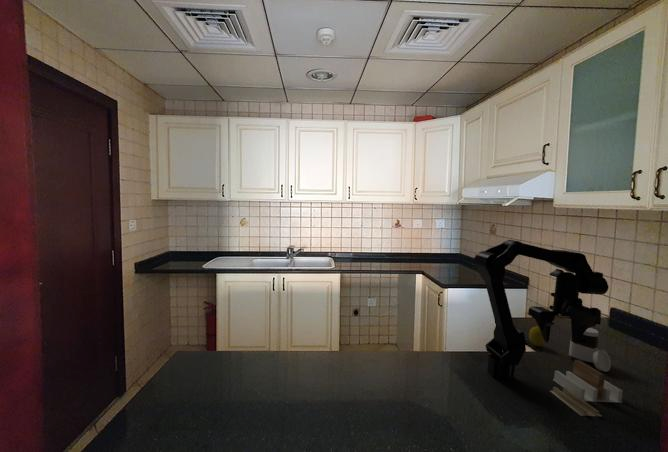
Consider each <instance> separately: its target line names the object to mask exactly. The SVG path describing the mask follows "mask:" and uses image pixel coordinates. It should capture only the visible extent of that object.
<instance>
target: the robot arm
mask: <svg viewBox="0 0 668 452" xmlns="http://www.w3.org/2000/svg"><path fill="white" fill-rule="evenodd" d="M517 256H523V257H528V258H531V259H536V260H539V261H543V262H544V261H545V262H546V263H548V264H550V265H552V266H553V267H555V268H556V269H555V270H553V271H551V272H550V273H549V276H550V277H555V284H554V285H555V286H554V292H550V297H553V304H552V305H551V304H550V305H549V309H548V308H545V307H543V306H535V305H534V306H533V305H532V306H530V307H529V308H528V313H527V315H529V316H531V318H532V319H534V320H535V322H536V324H537V326H539V328H540V331H541V334H542V336H543V339H544V341H545V343H548V342H549V341H550V335H551V328H552V326H554V325H555V322H553V321H554V320H555V319H556V318H557V319H570V327H571V334H572V340H573V343H575V344H577V343H578V341H579V340H580V338H581V337H582V335H583V334H584V332H585V331H586V330H587V329H588V328H594V327H596V326H597V325H600V326H601V320H602V310H601V309H599V308H598V307H590V308H589V307H587V306H584V305H583V299H582V298H580V297H579V296H580V294H583V295H584V294H587V295H597V296H599V295H601V296H602V295H605V294H606V293H608V290H609V284H608V281H607V280H606V278H605V277H604V273H603V272H599V271H593V269H592V267H591V266H590V264H589V262H588V260H587V257H586V255H585V254H584V253H582V252H575V251H569V250H562V249H548V248H544V247H540V246H536V245H533V244H529V243H524V242H521V241H518V240H513V239H507V240H505V241H503V242H502V243H500V244H497V245H493V246H491V247H489V248H487V249H486V250H482V251H479V252H478V253H476V255H475V256H474V258H473V263H474V266H475V268H476V271H477V272H478V274H479V275H480V277H481V278H482V280H483V282H484V283H485V287H486V292H487V295H488V300H489V303H490V307H491V312H492V315H493V319H494V323H495V326H494V330H493V338H492V339H490V340H489V341H488V342H487V343H486V344H485V349H486V351H487V352H488V353H489V354H488V358H487V359H488V360H487V361H488V363H487V370H486V372H487V374H488V375H489V376H491V378H493V379H496V380H500V381H504V382H507V381H510V380H513V379H515V372H516V366H519V365H520V363H521V360H522V358H523V356H524V355H525V353H526V352H527V347H526V346H528V343H527V342H526V335H525V332H524V331H522V330H521V329H519V328H517V327H516V326H515V325H514V322H513V317H512V313H511V309H510V304H509V301H508V295H507V293H506V288H505V285H504V278H505V275H506V267H507V266H508V265H510V264H512V263H513V262H514V261H515V258H517ZM564 270H565V271H564Z"/></svg>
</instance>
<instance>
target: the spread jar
mask: <svg viewBox="0 0 668 452" xmlns="http://www.w3.org/2000/svg"><path fill="white" fill-rule="evenodd" d="M599 334H600V333H599V331H598V330H597V329H595V328H593V327H590V328H588V329H587V330H586V331H585V332H584V334H583V335H582V337H581V338H580V340H579V341H578V343H577V344H575V343H573V340H572V333H571V335H570V342H569V350H568V357H569V359H571V360H572V361H574V360H580V361H582V362H584V363H585V364H587V365H589V366H594V367H595V368H596V370H597V371H599V372H606V373H607V372H609V371H610V369H611V367H612V362H611V357H610V355H609V354H608V352H607V351H606V350H604V349H599V346H600V340H599V337H598V336H599Z"/></svg>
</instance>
